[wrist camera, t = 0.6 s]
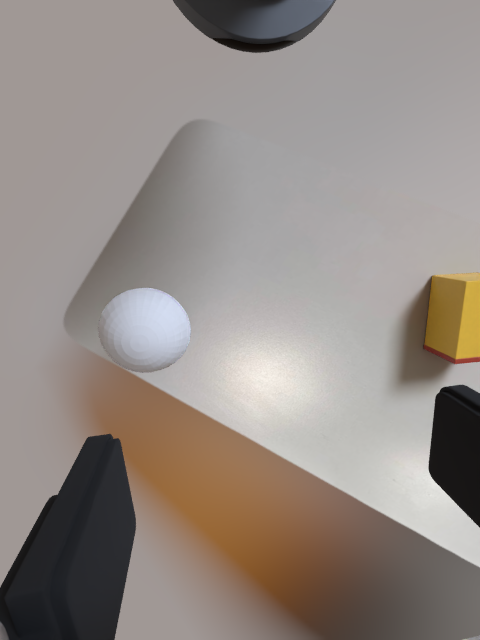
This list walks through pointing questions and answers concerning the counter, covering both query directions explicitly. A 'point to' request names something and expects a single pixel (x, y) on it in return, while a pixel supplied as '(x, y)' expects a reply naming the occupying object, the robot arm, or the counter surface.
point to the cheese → (454, 318)
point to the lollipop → (144, 330)
